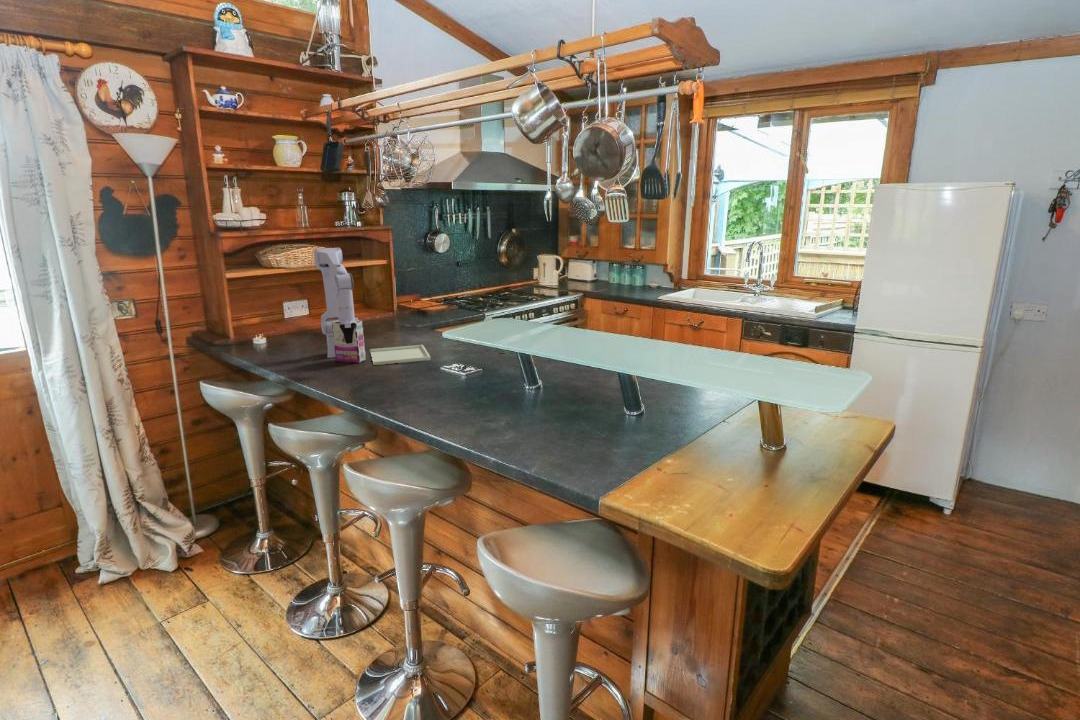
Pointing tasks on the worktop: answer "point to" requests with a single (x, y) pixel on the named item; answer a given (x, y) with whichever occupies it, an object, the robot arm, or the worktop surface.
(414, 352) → the tray
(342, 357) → the candy bar box
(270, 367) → the worktop surface
